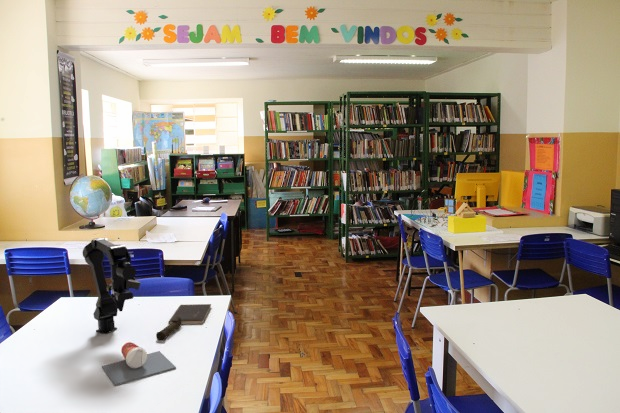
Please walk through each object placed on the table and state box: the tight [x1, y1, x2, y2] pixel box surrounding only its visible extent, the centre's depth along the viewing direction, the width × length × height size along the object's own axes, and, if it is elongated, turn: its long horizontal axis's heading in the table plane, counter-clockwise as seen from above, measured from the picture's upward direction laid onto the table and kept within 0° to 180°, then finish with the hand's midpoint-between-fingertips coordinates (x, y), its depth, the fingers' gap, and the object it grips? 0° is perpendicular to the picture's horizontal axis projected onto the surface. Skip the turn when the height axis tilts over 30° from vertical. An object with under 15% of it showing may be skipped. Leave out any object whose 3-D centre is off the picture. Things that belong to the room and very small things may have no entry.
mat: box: [101, 350, 177, 387], centre depth 186 cm, size 18×22×1 cm
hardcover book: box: [168, 303, 212, 325], centre depth 242 cm, size 16×23×2 cm
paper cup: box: [121, 341, 148, 368], centre depth 189 cm, size 8×8×14 cm
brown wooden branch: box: [155, 317, 182, 341], centre depth 221 cm, size 19×4×5 cm, turn 165°
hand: (120, 311), depth 211 cm, fingers closed
